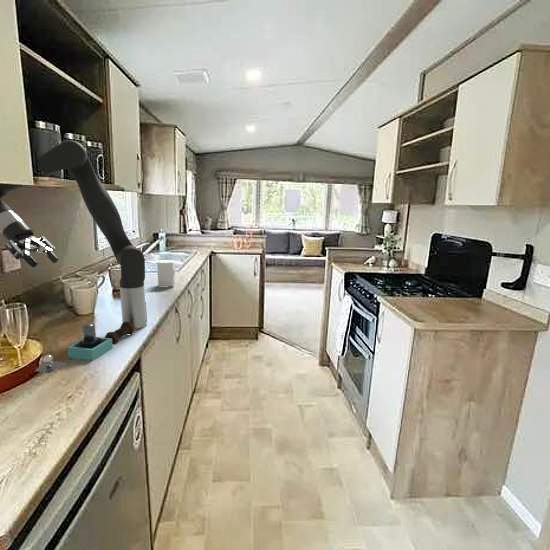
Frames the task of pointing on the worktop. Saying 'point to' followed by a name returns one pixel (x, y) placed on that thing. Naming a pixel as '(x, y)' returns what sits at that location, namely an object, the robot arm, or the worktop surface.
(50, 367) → the stud plate
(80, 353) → the bin
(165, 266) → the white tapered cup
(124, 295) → the robot arm
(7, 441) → the worktop surface
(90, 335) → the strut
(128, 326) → the brown bone toy
